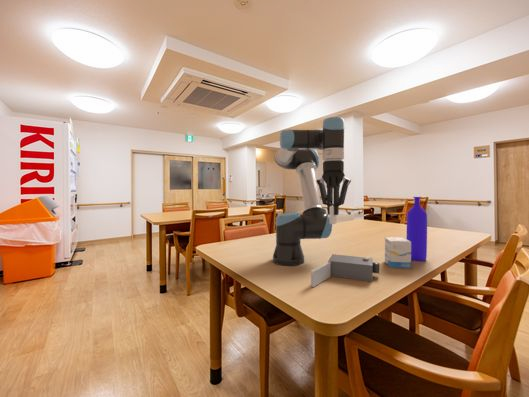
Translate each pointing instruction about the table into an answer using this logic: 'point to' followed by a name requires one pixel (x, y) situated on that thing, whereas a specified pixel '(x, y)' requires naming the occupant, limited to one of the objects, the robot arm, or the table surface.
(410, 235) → the bottle
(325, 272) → the side door
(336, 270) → the camera box
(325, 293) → the table surface
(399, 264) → the ink box
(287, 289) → the table surface
